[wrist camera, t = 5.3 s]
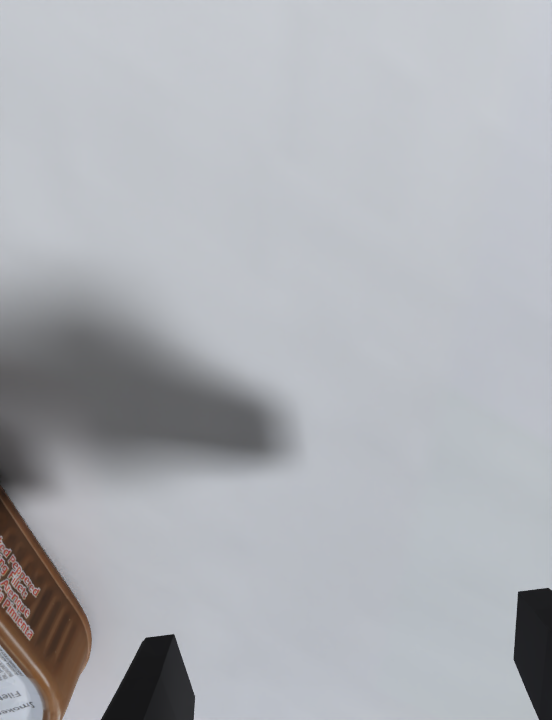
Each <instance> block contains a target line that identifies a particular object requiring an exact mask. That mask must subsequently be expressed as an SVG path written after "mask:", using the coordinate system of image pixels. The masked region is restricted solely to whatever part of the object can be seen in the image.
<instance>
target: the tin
mask: <svg viewBox="0 0 552 720" xmlns="http://www.w3.org/2000/svg"><path fill="white" fill-rule="evenodd" d="M91 643H92V638H91V630H90V625H89V622H88V620H87V617H86V615H85V613H84V611H83V609H82V607H81V606H80V604H79V603H78V601H77V599H76V598H75V597H74V595H73V593H72V592H71V590H70V589H69V587H68V586H67V585H66V583H65V582H64V580H63V579H62V577H61V576H60V574H59V573H58V571H57V570H56V568H55V567H54V565H53V564H52V562H51V561H50V559H49V558H48V556H47V555H46V553H45V552H44V551H43V549H42V548H41V546H40V544H39V543H38V541H37V540H36V538H35V537H34V535H33V534H32V532H31V531H30V529H29V528H28V526H27V525H26V523H25V522H24V520H23V519H22V517H21V516H20V515H19V513H18V511H17V510H16V508H15V506H14V505H13V503H12V502H11V500H10V499H9V497H8V496H7V494H6V493H5V491H4V490H3V488H2V487H1V485H0V720H62V718H63V716H64V714H65V712H66V709H67V707H68V705H69V702H70V699H71V697H72V694H73V691H74V689H75V686H76V684H77V681H78V678H79V676H80V674H81V673H82V671H83V670H84V668H85V666H86V664H87V662H88V659H89V656H90V651H91Z"/></svg>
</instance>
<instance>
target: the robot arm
mask: <svg viewBox="0 0 552 720" xmlns="http://www.w3.org/2000/svg"><path fill="white" fill-rule="evenodd" d="M514 661H515V664H516V666H517V669H518V671H519V673H520V676H521V678H522V681H523V683H524V686H525V688H526V690H527V693H528V695H529V697H530V700H531V702H532V704H533V707H534V709H535V711H536V714H537V716H538V718H539V720H552V590H550V589H549V588H545V589H536V590H528V591H520V592H518V603H517V617H516V632H515V647H514ZM194 704H195V695H194V692H193V689H192V686H191V683H190V680H189V677H188V674H187V671H186V668H185V665H184V662H183V659H182V656H181V653H180V650H179V647H178V644H177V641H176V638H175V635H174V634H172V635H164V636H156V637H148V638H145V640H144V641H143V642H142V644H141V646H140V647H139V649H138V651H137V653H136V655H135V657H134V659H133V661H132V663H131V665H130V667H129V669H128V671H127V673H126V674H125V676H124V678H123V680H122V682H121V684H120V686H119V688H118V690H117V691H116V693H115V695H114V697H113V699H112V701H111V702H110V704H109V706H108V708H107V710H106V712H105V713H104V715H103V717H102V719H101V720H194Z"/></svg>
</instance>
